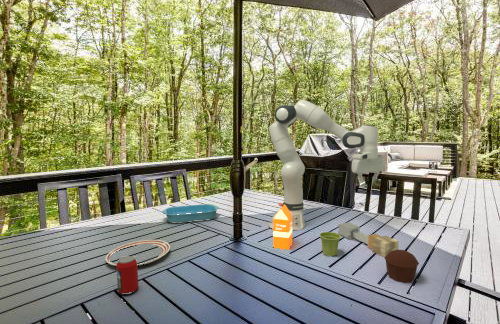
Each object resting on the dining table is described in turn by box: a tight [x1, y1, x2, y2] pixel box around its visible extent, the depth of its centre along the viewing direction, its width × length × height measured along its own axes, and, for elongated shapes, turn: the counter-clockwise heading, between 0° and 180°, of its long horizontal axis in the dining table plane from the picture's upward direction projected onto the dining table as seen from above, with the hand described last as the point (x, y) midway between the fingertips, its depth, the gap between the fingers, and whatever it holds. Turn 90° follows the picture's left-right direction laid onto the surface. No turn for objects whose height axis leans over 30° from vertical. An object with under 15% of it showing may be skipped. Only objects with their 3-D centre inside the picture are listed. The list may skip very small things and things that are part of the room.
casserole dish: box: [161, 203, 220, 223], centre depth 186 cm, size 37×22×7 cm, turn 108°
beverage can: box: [116, 256, 139, 294], centre depth 99 cm, size 7×7×12 cm
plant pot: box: [319, 231, 342, 257], centre depth 128 cm, size 9×9×9 cm
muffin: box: [383, 249, 420, 284], centre depth 106 cm, size 12×11×10 cm
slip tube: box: [351, 230, 382, 250], centre depth 137 cm, size 4×19×6 cm, turn 22°
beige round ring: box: [105, 239, 171, 267], centre depth 128 cm, size 27×27×3 cm
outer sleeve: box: [337, 222, 361, 241], centre depth 149 cm, size 7×8×6 cm
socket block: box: [372, 235, 400, 258], centre depth 127 cm, size 8×7×6 cm
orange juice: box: [272, 204, 293, 251], centre depth 137 cm, size 8×9×20 cm
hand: (368, 180), depth 152 cm, fingers open, 8 cm apart
